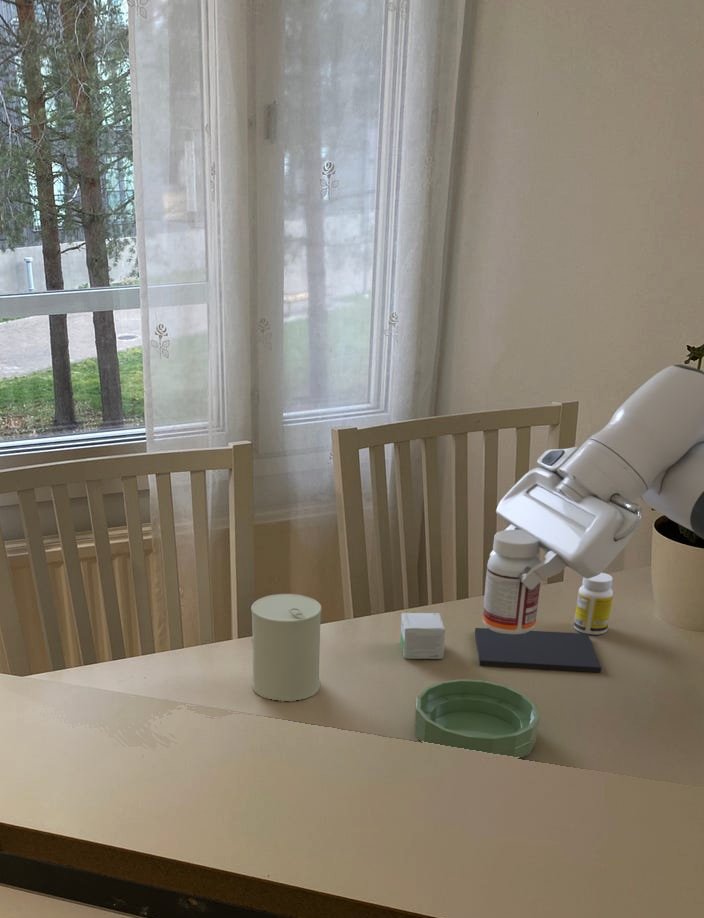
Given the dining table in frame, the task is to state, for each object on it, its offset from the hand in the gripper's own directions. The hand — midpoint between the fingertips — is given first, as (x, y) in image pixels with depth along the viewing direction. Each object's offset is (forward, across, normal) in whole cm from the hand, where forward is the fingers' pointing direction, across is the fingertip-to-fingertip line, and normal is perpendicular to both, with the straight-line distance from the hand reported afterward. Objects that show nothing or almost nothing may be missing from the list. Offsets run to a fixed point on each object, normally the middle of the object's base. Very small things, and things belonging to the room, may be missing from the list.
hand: (508, 572), depth 107 cm
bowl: (+17, -5, -10) cm, 20 cm away
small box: (+15, +19, -12) cm, 27 cm away
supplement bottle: (-4, +20, -31) cm, 37 cm away
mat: (+4, +15, -23) cm, 28 cm away
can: (+30, +13, +4) cm, 33 cm away
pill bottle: (+4, 0, -6) cm, 7 cm away
